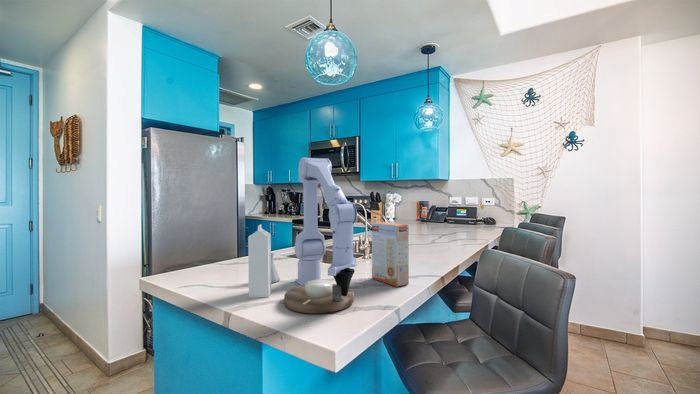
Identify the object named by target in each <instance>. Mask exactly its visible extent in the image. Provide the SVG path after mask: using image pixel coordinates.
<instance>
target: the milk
mask: <svg viewBox="0 0 700 394" xmlns="http://www.w3.org/2000/svg"><path fill="white" fill-rule="evenodd" d="M247 241H248V242H247V246H248V247H247V248H248V249H247V251H248V298H249V299H252V298H253V299H256V298H258V299H259V298H269V297H270V296H271V293H272V283H271V253H272V235H271V233H270V232H268V231H267V230H265V229H263V228H262V223H261V224H259V225H257V230H256V231H254V232H253V233H252V234H250V235H249V236H247Z"/></svg>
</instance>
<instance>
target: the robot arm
mask: <svg viewBox="0 0 700 394" xmlns="http://www.w3.org/2000/svg"><path fill="white" fill-rule="evenodd" d="M332 167H333V165H332V162H331V160H330V159H329V158H328V157H327V158H318V157H316V158H315V157H305V156H304V157H302V158H300V160H299V164H298V181H299V182H300V183H302V187H303V229H302V231H300V232H299V233H298V234H297V235H295V243H294V254H295V256H296V258H297V259H299V260H298V261H297V279H295V281H294V282H297V284H298V285H299V286H303V285H305V283H306V282H308V281H311V280H322V275H321V271H322V269H321V268H322V267H321V263H322V262H321V259H322V258H323V256H324V255H325V253H326V249H327V248H326V246H327V245H326V241H325V235H324V234H322V233H321V232H320V231H319V230H318V227H319V225H318V219H319V218H318V217H319V215H318V210H319V208H318V204H319V201H318V200H319V199H318V198H319V197H318V195H319V194H318V193H319V191H318V190H319V189H318V186H319V185H320V186H321V187H322V189H323V193H322V197H323V199H324V201H325V204H326V206H327V208H328V209H329V211H328V219H329V223H330V230H331V231H332V261H331V264H330V266H329V267H328V268H327V276H329V277H333V278H334V281H335V284H337V285H340V286H341V296H347V294H348V289H349V288H350V284H351V281H352V278H353V275H354V274H355V269H354V268H355V267H357V266H358V263H357V257H354V224H356V222H357V218H358V209H357V207H356V204H355V203H354V202H351V201H349V200H348V199H347V198H346V195H345V194H344V191H343V190H342V188H341V187H340V186H339V185H338V184H336V183H335V181H334V178H333V176H332ZM353 267H354V268H353Z"/></svg>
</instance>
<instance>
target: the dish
mask: <svg viewBox="0 0 700 394" xmlns="http://www.w3.org/2000/svg"><path fill="white" fill-rule="evenodd" d="M333 284H334V283H333V281H331V280H328V279H321V280H311V281H308V282H306V283H305V295H306V296H308V297H311V298H324V297H328V296H331V295H332V294H333V290H332V286H333Z"/></svg>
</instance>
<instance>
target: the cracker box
mask: <svg viewBox="0 0 700 394" xmlns="http://www.w3.org/2000/svg"><path fill="white" fill-rule="evenodd" d="M409 258H410V257H409V224H403V223H397V222H396V223H395V222H388V221H376V222H372V223H371V278H372V279H373V280H376V281H379V282H382V283H385V284H388V285H390V286H393V287H395V288H396V287H397V288H399V287H403V286H407V285H409V280H410V279H409V277H410V275H409V274H410V273H409V265H410V264H409Z"/></svg>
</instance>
